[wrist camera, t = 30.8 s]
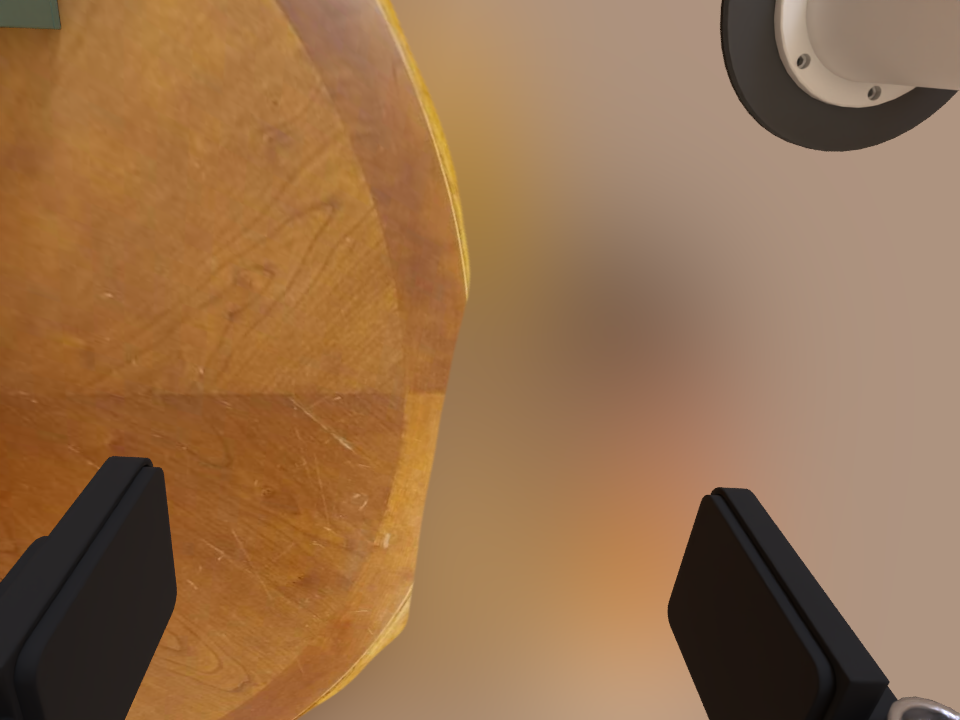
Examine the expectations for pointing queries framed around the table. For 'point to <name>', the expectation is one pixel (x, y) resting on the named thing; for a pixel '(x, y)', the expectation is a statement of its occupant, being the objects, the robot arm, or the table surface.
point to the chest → (29, 14)
